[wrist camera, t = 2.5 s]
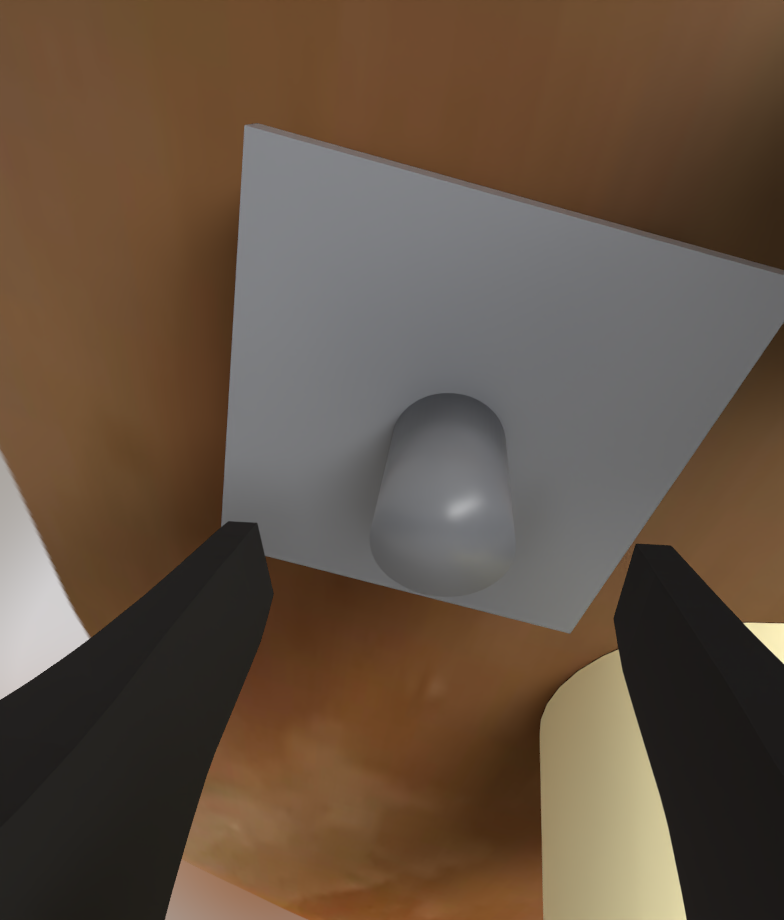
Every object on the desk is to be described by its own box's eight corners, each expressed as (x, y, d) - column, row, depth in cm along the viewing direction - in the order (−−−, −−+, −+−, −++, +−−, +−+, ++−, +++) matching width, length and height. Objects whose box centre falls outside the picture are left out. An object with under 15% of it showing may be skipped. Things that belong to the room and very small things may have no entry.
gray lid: (791, 272, 12) (952, 362, 8) (566, 614, 19) (592, 754, 15) (257, 123, 11) (144, 138, 7) (229, 527, 18) (162, 647, 14)
